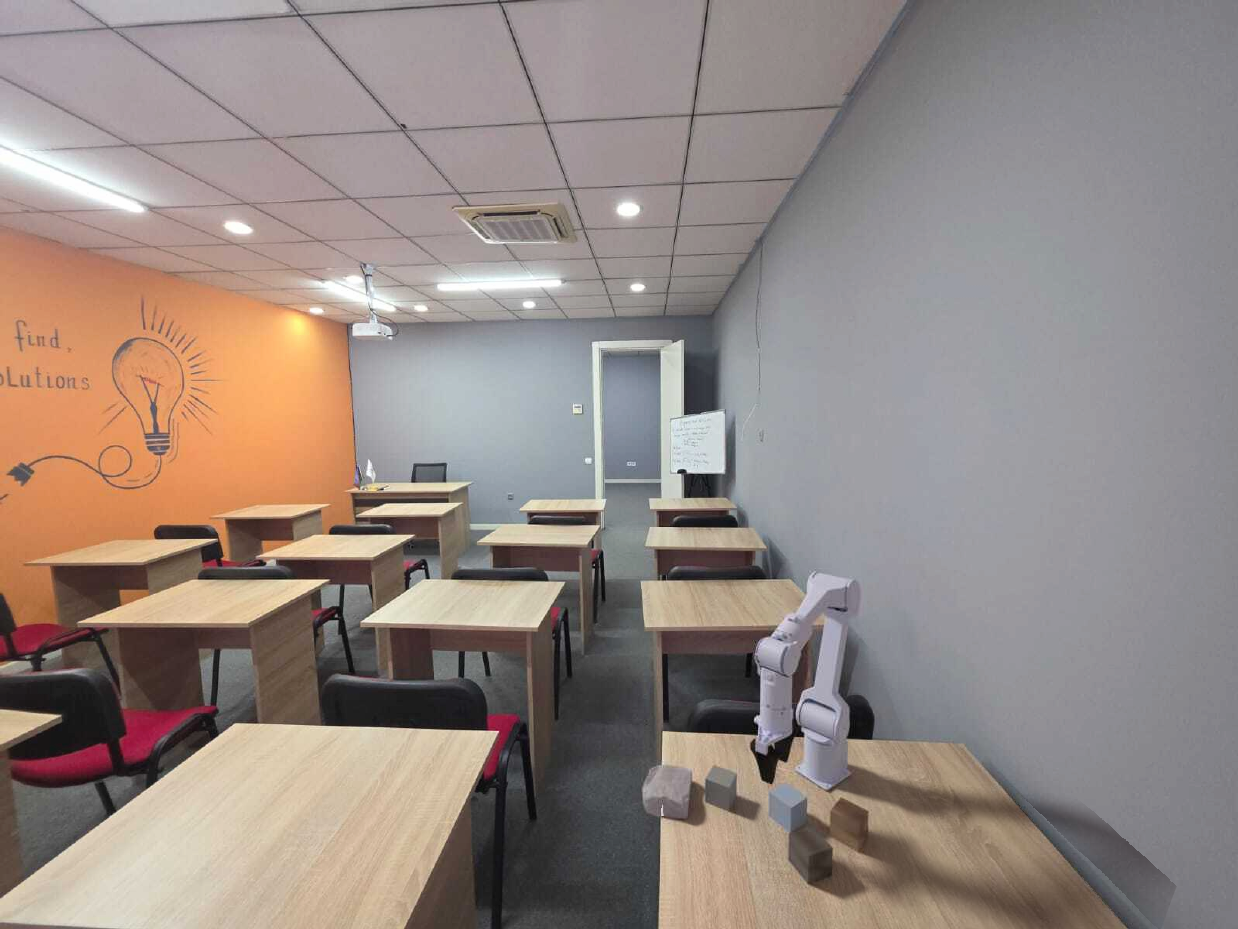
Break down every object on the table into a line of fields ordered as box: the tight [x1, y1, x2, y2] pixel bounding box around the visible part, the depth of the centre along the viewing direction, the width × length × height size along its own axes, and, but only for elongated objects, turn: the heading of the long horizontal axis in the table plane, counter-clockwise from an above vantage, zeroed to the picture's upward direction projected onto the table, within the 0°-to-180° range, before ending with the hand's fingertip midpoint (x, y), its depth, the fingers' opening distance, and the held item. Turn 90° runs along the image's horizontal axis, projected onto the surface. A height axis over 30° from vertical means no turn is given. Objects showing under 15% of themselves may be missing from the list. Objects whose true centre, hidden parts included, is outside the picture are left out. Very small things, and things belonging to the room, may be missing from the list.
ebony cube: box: [787, 825, 834, 885], centre depth 84 cm, size 5×5×5 cm
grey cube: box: [704, 764, 738, 812], centre depth 100 cm, size 5×5×5 cm
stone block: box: [641, 764, 693, 820], centre depth 101 cm, size 12×5×10 cm
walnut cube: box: [829, 796, 870, 853], centre depth 90 cm, size 5×5×5 cm
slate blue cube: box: [768, 782, 808, 833], centre depth 95 cm, size 5×5×5 cm
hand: (774, 770), depth 94 cm, fingers open, 7 cm apart
